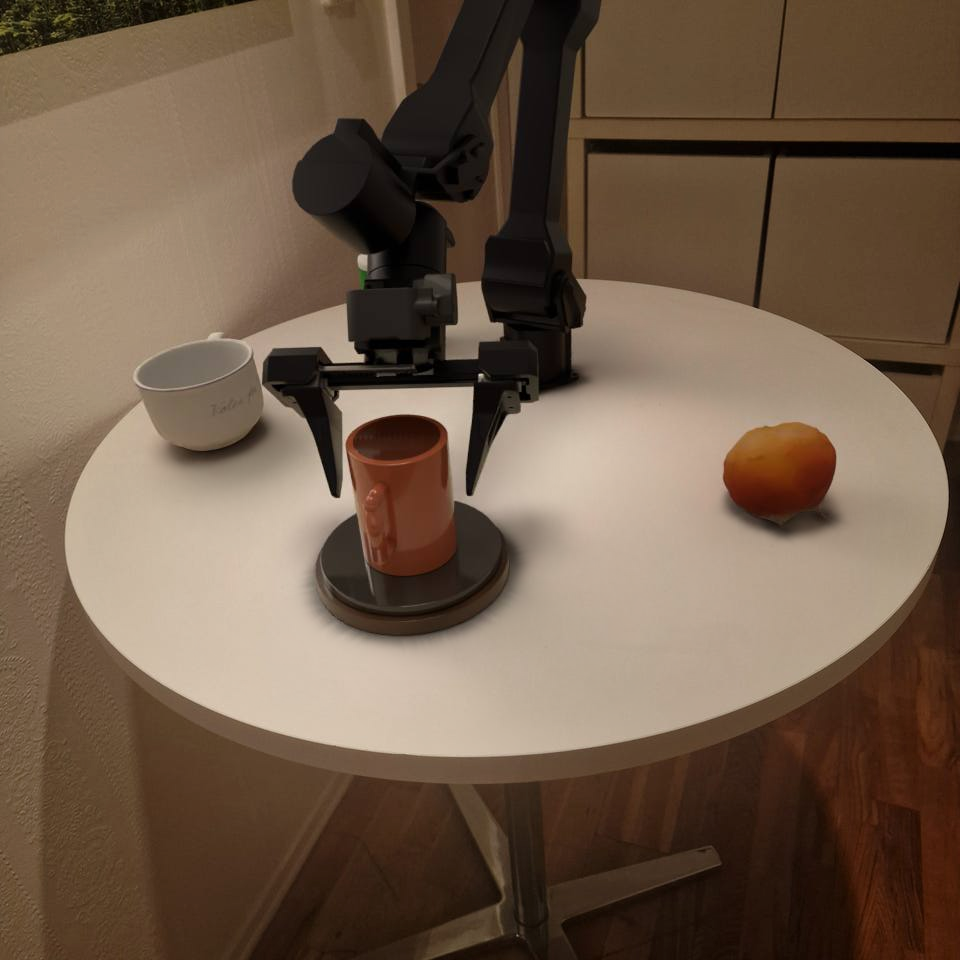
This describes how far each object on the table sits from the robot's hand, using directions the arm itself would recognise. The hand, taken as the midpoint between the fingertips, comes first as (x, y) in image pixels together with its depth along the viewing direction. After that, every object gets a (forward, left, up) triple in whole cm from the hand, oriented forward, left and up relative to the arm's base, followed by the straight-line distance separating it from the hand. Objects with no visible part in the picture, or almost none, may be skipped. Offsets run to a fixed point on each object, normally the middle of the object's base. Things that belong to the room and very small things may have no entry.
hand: (402, 496), depth 56 cm
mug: (0, -1, -6) cm, 6 cm away
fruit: (-28, +5, -7) cm, 30 cm away
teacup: (+9, -31, -7) cm, 33 cm away
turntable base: (0, -1, -7) cm, 7 cm away
